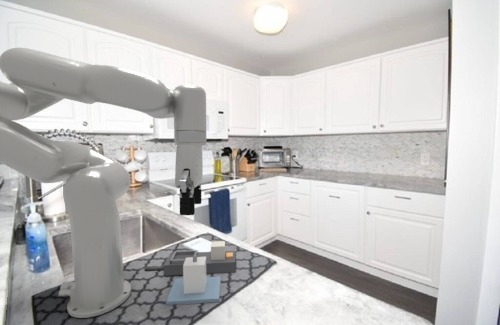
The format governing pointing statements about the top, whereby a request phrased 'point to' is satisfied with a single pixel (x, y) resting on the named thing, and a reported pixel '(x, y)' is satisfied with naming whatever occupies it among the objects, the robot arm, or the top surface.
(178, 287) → the mat
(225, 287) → the top surface
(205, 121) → the robot arm
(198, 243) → the external hard drive
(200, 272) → the block
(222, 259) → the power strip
